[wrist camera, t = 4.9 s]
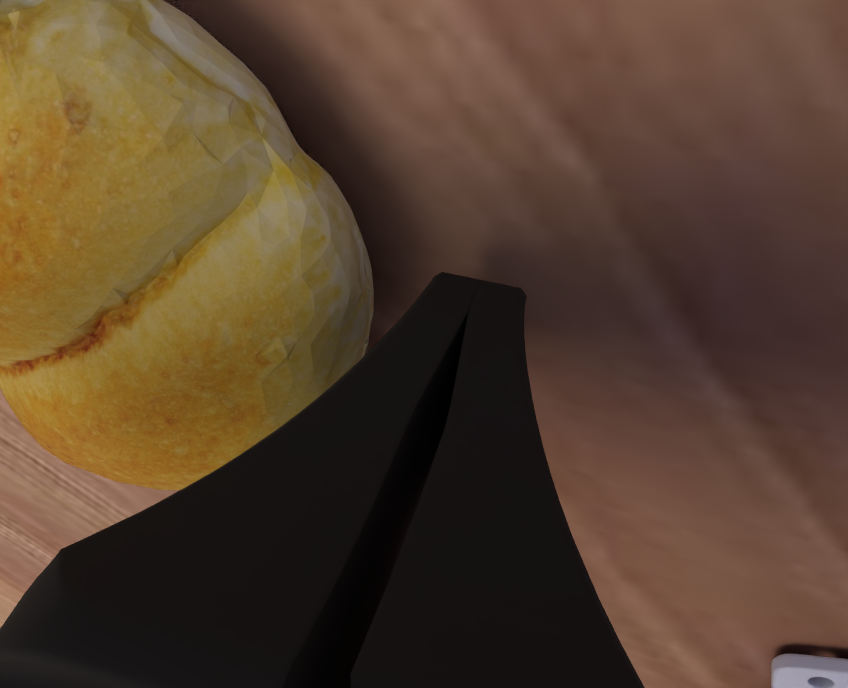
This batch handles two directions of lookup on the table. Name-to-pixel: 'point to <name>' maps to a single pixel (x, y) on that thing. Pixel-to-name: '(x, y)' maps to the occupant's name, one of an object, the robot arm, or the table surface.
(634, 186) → the table surface
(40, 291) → the bread roll
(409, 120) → the table surface
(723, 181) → the table surface
